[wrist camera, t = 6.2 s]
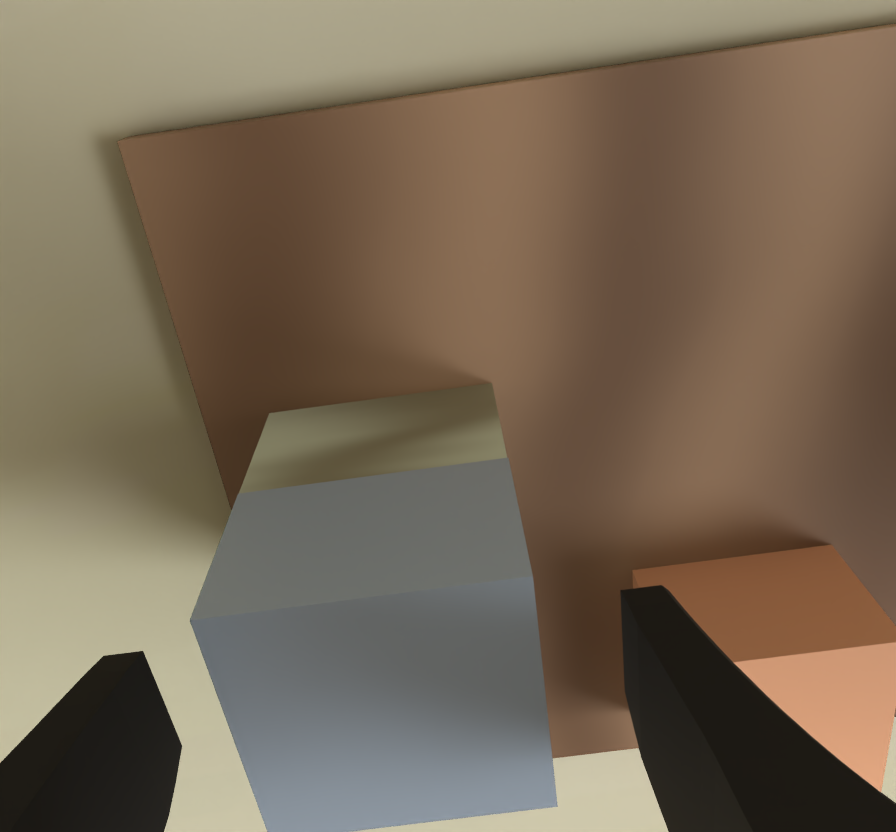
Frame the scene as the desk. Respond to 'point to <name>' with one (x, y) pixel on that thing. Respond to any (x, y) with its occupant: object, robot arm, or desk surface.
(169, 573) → the desk surface
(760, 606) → the brick terracotta
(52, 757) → the robot arm
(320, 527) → the brick slate
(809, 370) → the build board
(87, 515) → the desk surface
